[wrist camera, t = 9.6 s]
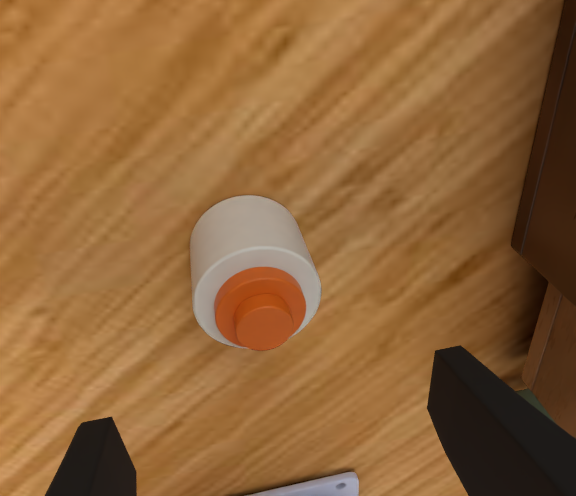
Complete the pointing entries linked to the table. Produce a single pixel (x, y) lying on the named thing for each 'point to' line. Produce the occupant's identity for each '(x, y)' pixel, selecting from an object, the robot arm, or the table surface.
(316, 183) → the table surface
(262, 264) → the glue bottle
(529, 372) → the drawer
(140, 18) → the table surface
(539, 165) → the cabinet
